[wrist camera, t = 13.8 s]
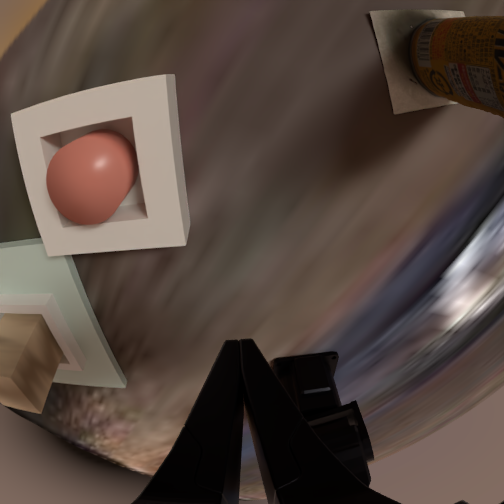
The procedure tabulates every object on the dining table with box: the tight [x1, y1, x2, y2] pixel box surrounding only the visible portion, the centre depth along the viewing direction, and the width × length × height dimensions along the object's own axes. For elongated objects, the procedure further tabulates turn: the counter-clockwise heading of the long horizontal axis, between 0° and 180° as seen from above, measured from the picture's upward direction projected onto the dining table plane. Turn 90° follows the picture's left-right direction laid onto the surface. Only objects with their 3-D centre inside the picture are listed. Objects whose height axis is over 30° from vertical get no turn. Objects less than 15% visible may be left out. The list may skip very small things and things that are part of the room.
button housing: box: [11, 74, 190, 256], centre depth 17 cm, size 10×10×3 cm
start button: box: [46, 129, 139, 225], centre depth 16 cm, size 5×5×3 cm
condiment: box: [370, 10, 504, 118], centre depth 11 cm, size 7×8×12 cm
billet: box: [0, 313, 63, 414], centre depth 21 cm, size 5×5×8 cm
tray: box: [0, 238, 127, 388], centre depth 24 cm, size 18×14×2 cm
